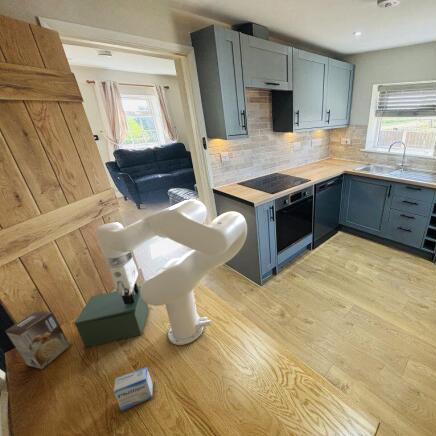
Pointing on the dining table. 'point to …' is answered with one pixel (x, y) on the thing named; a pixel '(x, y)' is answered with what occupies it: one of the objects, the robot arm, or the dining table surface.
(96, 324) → the green box
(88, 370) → the dining table surface
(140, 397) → the medicine box
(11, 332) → the coffee box
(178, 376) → the dining table surface
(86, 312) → the box lid
